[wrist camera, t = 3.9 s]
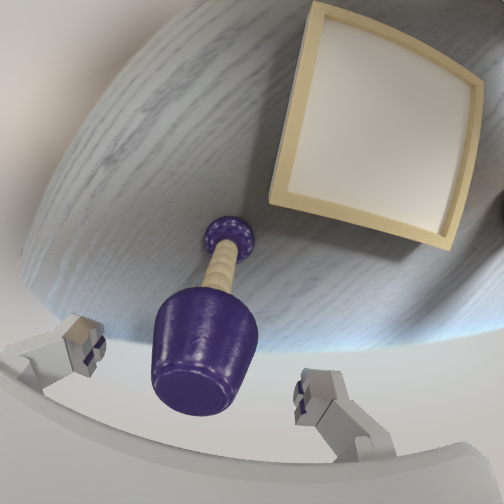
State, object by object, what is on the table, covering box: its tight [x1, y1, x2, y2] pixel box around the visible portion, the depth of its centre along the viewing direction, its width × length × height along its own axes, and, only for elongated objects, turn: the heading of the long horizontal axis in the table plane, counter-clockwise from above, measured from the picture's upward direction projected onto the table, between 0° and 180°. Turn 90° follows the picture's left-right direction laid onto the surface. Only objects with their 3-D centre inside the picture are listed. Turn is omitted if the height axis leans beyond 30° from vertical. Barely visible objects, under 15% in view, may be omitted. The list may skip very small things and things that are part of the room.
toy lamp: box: [151, 216, 258, 416], centre depth 16 cm, size 5×5×17 cm
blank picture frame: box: [268, 0, 485, 251], centre depth 18 cm, size 16×16×4 cm
